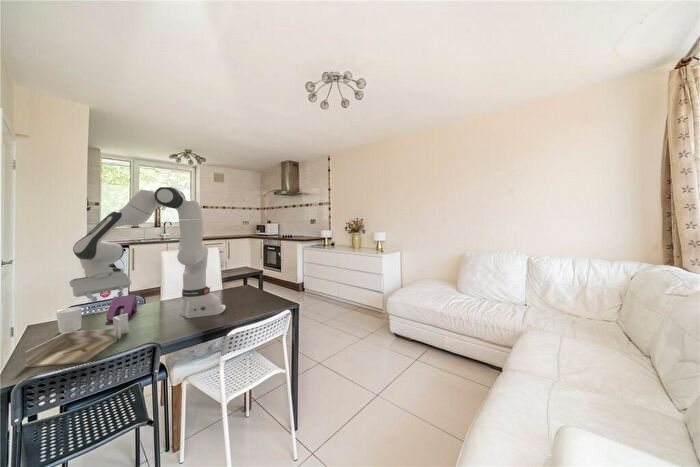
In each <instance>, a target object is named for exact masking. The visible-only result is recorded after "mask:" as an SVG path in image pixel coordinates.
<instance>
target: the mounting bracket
mask: <svg viewBox="0 0 700 467" xmlns="http://www.w3.org/2000/svg"><path fill="white" fill-rule="evenodd" d="M109 306H110V307H109V310H108V311H106V312H107V313H106V316H105V317H106V320H107V322H108V323H111V324H113V317H116V316H119V315H120V313H122V314H121V315H123V314H128V319H129V318H130V317H131V315H132V313H133V314H134V313H137V308H138V301H137V296H136V294H129V295H123V296H118V295H117V296H113V297H112V300H111V303H110V305H109ZM122 309H123V310H122ZM121 311H122V312H121Z"/></svg>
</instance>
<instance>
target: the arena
mask: <svg viewBox="0 0 700 467" xmlns="http://www.w3.org/2000/svg"><path fill="white" fill-rule="evenodd" d="M115 342H117V338H116V329H113V328H107V329H106V328H105V329H102V328H101V329H91V330H89V329H88V330H77V331H72V332H64V333H60V334H59V335H56V336H55V337H52V338H51V339H48V340H46V341H44V342H42V343H40V344H38V345H36V346H34V347H32V348H30V349H27V350H26V351H24V352H23V357H24V368H33V367H44V366H46V367H47V366H55V365H56V366H57V365H67V364H78V363H86V362H88V361H89V360H91V359H92V358H93V357H95V356H97V355H98V354H99V353H101V352H102V351H104V350H106V349H107V348H108V347H110V346H111V345H113V344H115Z"/></svg>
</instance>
